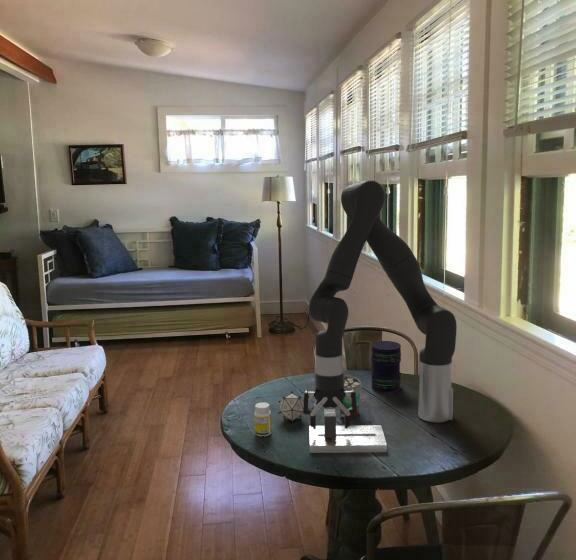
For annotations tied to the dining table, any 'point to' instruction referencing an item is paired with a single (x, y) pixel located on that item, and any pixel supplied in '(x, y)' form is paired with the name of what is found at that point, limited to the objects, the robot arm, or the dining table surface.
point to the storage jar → (386, 366)
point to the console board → (348, 439)
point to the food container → (350, 384)
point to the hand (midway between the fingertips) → (330, 427)
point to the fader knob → (329, 423)
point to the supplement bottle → (262, 419)
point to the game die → (291, 406)
